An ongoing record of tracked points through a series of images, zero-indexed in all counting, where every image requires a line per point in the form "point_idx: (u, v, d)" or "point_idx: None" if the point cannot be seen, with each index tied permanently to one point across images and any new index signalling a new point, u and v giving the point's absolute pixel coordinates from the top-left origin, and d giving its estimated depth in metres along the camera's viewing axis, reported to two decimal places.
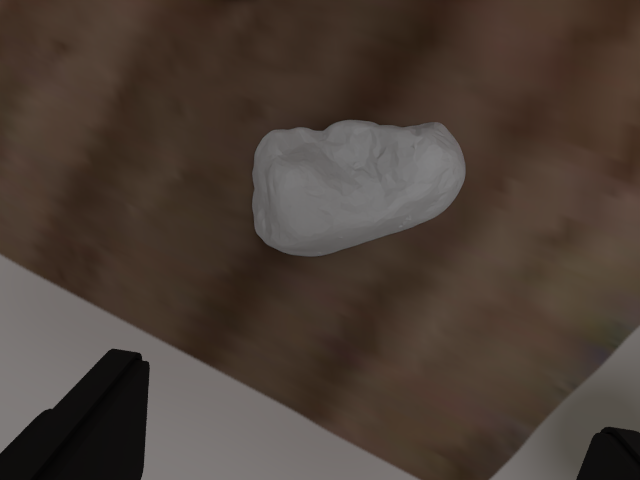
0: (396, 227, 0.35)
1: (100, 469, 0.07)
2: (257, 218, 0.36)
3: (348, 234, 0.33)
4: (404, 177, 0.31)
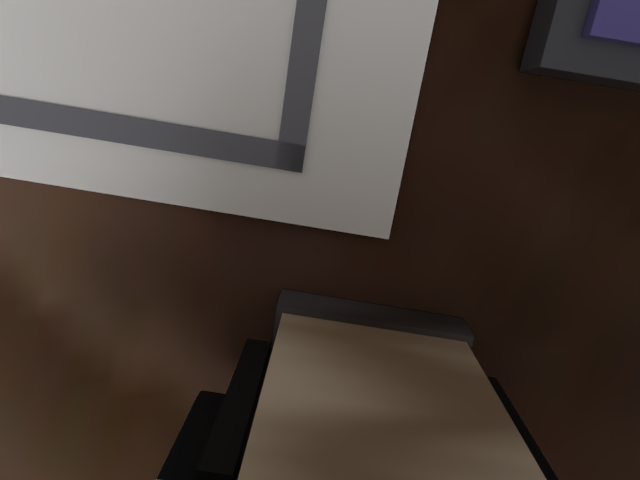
0: None
1: None
2: None
3: None
4: None
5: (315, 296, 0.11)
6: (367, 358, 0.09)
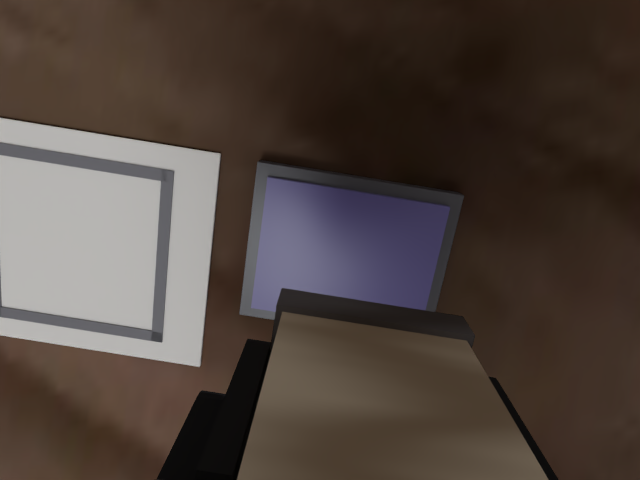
0: None
1: None
2: None
3: None
4: None
5: (315, 295, 0.11)
6: (367, 357, 0.09)
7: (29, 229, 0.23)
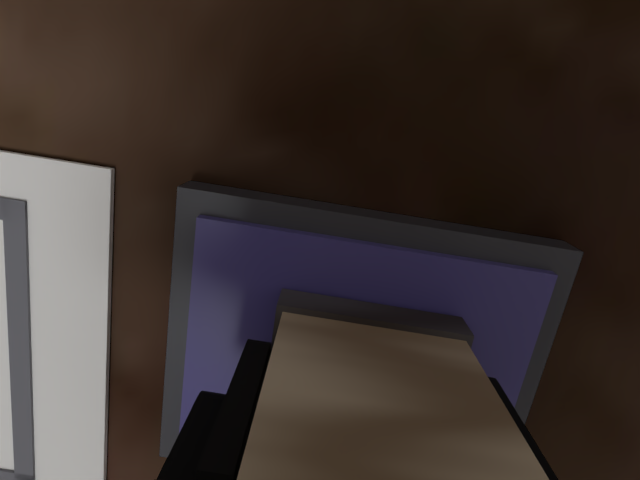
0: None
1: None
2: None
3: None
4: None
5: (315, 295, 0.11)
6: (367, 356, 0.09)
7: None
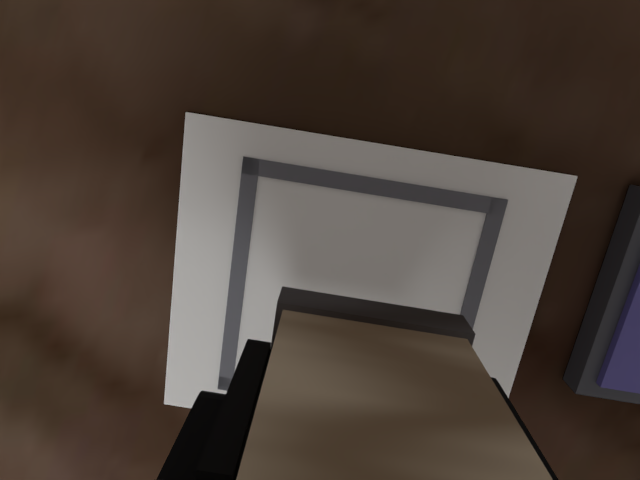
0: None
1: None
2: None
3: None
4: None
5: (315, 293, 0.11)
6: (368, 354, 0.09)
7: (288, 277, 0.17)
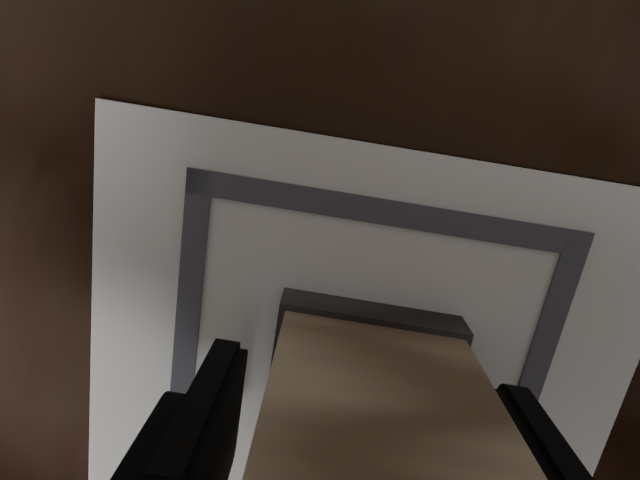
0: None
1: (223, 442, 0.08)
2: None
3: None
4: None
5: (317, 294, 0.11)
6: (368, 355, 0.09)
7: (261, 345, 0.12)
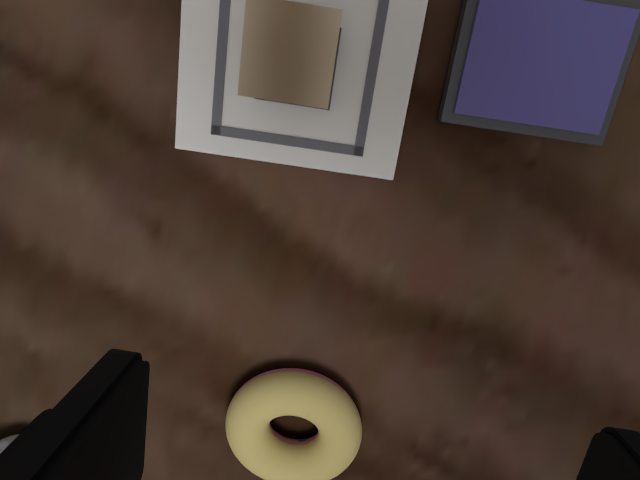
0: None
1: (100, 469, 0.07)
2: None
3: None
4: None
5: None
6: None
7: None
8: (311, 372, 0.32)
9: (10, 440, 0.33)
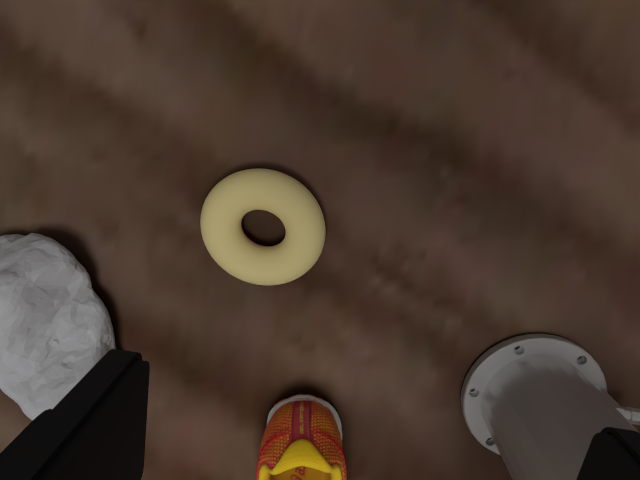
0: None
1: (100, 469, 0.07)
2: None
3: None
4: (40, 398, 0.34)
5: None
6: None
7: None
8: (279, 172, 0.35)
9: (5, 236, 0.36)
